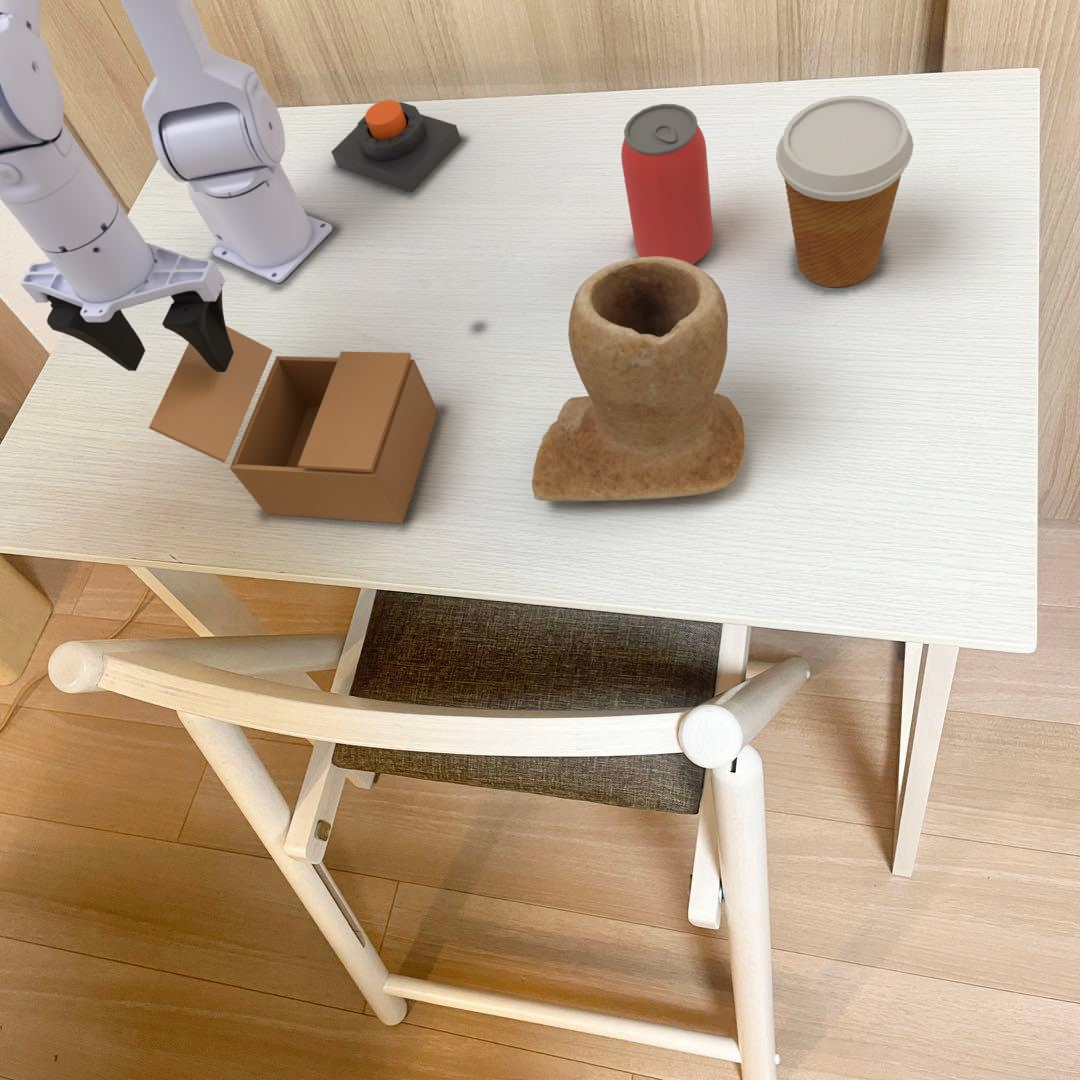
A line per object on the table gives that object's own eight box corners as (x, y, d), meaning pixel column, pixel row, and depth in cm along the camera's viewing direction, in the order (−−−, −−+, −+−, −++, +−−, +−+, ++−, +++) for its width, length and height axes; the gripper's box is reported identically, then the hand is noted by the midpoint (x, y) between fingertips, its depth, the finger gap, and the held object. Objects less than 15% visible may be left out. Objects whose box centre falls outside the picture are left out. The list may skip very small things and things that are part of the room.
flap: (225, 461, 76) (224, 463, 76) (272, 349, 81) (271, 352, 81) (149, 426, 73) (148, 428, 74) (202, 313, 78) (201, 316, 79)
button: (363, 134, 100) (357, 119, 98) (386, 111, 101) (381, 96, 99) (391, 143, 98) (385, 128, 97) (414, 120, 99) (408, 104, 98)
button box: (337, 167, 103) (324, 138, 100) (387, 118, 106) (376, 87, 103) (411, 193, 98) (400, 163, 96) (461, 141, 101) (451, 110, 98)
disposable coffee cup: (763, 294, 83) (760, 173, 73) (794, 212, 87) (795, 87, 77) (884, 311, 80) (898, 186, 70) (911, 224, 84) (928, 95, 74)
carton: (265, 514, 82) (224, 461, 76) (307, 406, 87) (272, 349, 81) (403, 523, 78) (371, 470, 72) (438, 411, 83) (411, 352, 77)
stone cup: (745, 379, 79) (737, 229, 66) (745, 510, 73) (737, 372, 60) (552, 389, 82) (510, 248, 70) (537, 515, 76) (488, 386, 64)
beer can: (661, 286, 86) (644, 168, 76) (622, 242, 89) (601, 125, 79) (728, 249, 86) (721, 128, 76) (687, 208, 90) (674, 86, 80)
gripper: (-44, 268, 66) (78, 401, 77) (151, 264, 62) (249, 405, 73) (4, 192, 69) (114, 330, 81) (191, 184, 66) (279, 330, 77)
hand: (180, 361), depth 77 cm, fingers open, 7 cm apart
